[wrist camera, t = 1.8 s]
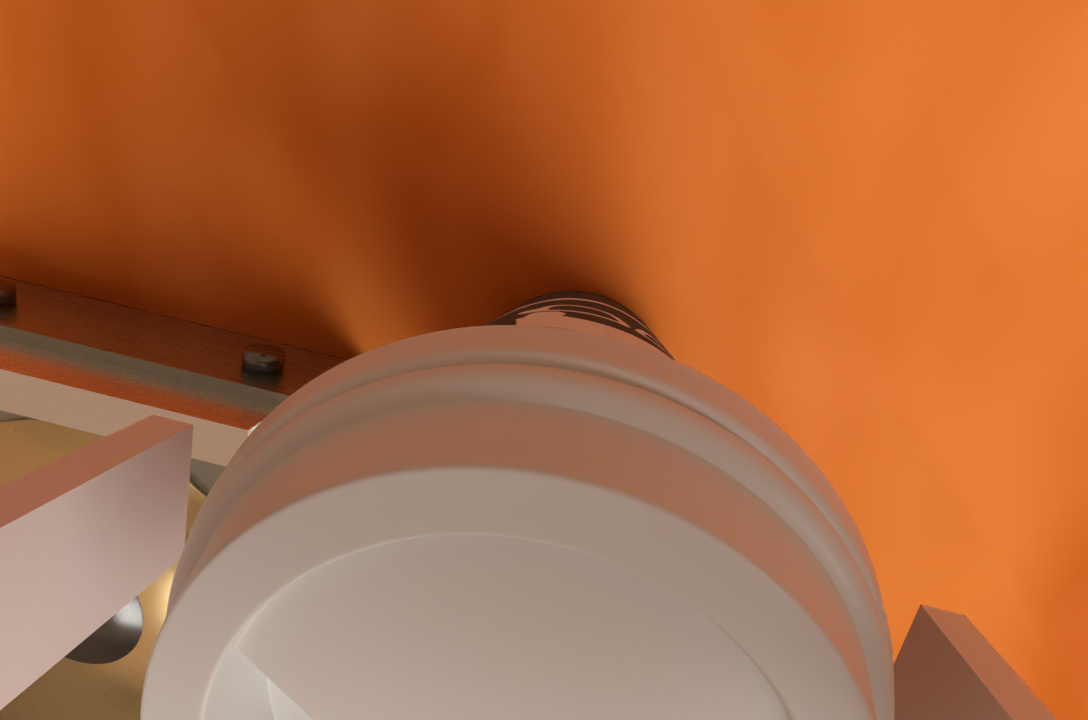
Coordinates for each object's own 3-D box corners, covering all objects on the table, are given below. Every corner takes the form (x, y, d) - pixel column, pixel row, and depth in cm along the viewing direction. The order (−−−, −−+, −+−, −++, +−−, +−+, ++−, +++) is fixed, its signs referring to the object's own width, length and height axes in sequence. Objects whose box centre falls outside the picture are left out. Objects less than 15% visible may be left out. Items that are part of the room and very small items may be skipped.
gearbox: (-8, 258, 22) (-219, 279, 16) (372, 349, 21) (288, 404, 16) (7, 675, 27) (-151, 801, 21) (312, 757, 26) (234, 908, 21)
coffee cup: (392, 298, 21) (-102, 532, 6) (667, 200, 19) (859, 217, 5) (490, 540, 23) (290, 1139, 8) (747, 471, 21) (1055, 1073, 7)
